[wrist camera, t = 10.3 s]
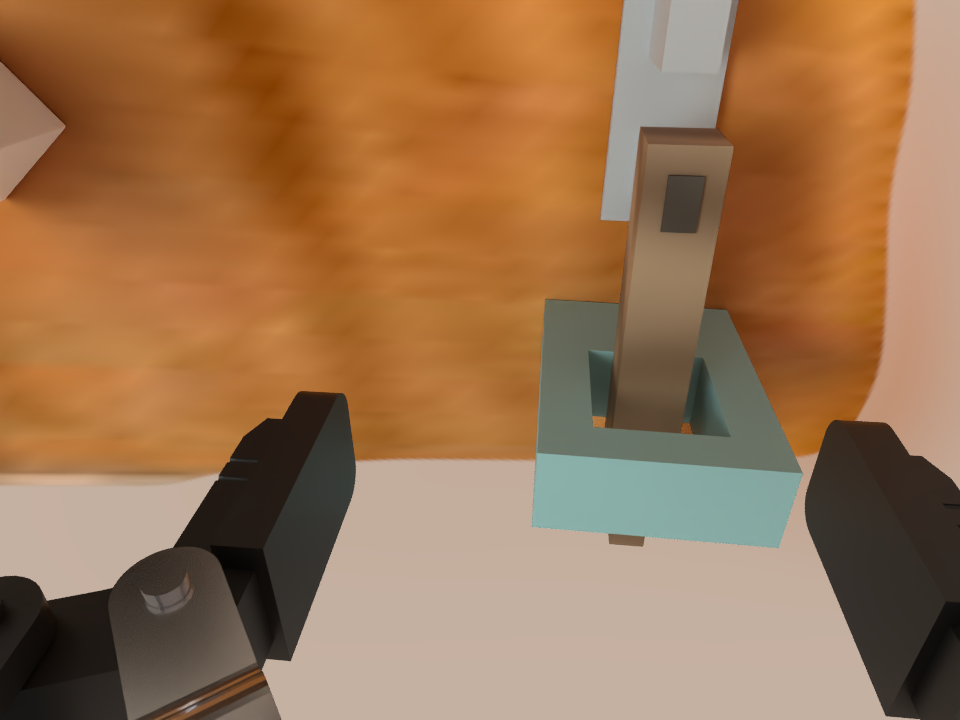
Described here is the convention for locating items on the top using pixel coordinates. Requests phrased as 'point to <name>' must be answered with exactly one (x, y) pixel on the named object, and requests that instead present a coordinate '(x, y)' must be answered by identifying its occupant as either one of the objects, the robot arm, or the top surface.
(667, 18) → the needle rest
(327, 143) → the top surface
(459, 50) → the top surface
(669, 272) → the needle
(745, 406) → the teal rectangular frame
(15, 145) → the milk
